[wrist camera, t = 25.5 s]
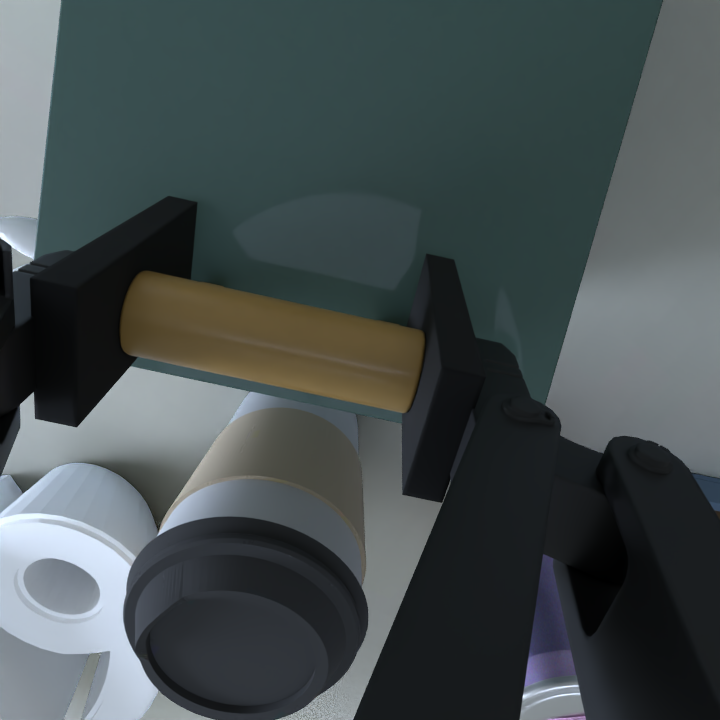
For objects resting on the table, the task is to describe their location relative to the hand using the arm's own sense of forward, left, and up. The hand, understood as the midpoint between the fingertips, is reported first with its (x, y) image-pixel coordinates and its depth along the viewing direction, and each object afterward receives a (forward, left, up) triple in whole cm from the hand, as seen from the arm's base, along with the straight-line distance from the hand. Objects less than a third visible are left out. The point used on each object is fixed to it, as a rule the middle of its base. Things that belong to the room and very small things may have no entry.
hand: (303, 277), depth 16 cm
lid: (0, -6, -3) cm, 7 cm away
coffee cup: (0, +14, -13) cm, 19 cm away
